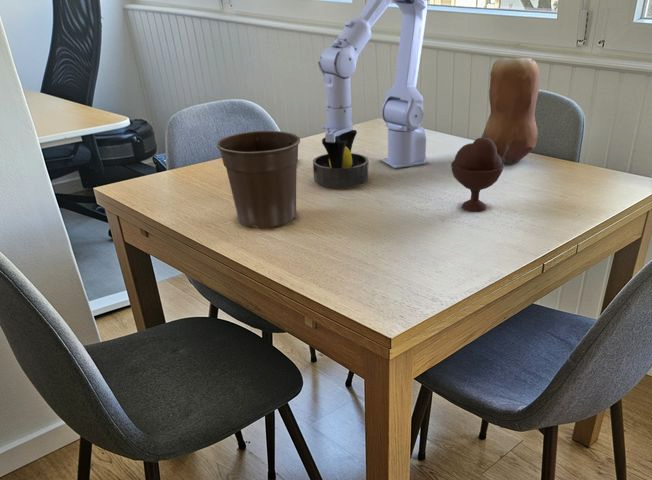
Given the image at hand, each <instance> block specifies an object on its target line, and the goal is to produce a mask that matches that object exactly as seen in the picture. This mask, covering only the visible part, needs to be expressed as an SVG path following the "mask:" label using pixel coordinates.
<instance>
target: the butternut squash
mask: <svg viewBox="0 0 652 480" xmlns="http://www.w3.org/2000/svg"><path fill="white" fill-rule="evenodd" d="M489 76H490V77H489V78H490V79H489V91H488V99H489V105H490V106H489V107H490V113H489V114H490V115H489V117H488V119H487V121H486V124H485V126H484V130H483V138H488V139H491V140H492V141H493V142H494V144H495V145H496V148H497V154H498V155H499V156H500V157H501V160H502V162H503V163H506V164H507V163H508V164H515V163H518V162H520V161H522V160H523V159H524V158H525V157H526V156H527V155H529V154H530V153H531V152H532V151H534V149H535V147H536V145H537V142H538V126H537V122H536V117H535V116H536V115H535V112H536V107H537V101H538V96H539V89H540V82H539V81H540V73H539V66H538V64H537V62H536V61H535V60H534V59H532V58H530V57H515V58H509V57H502V58H498V59H496V60H495V61H494V62H493V63H492V66H491V70H490V73H489Z"/></svg>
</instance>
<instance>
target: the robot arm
mask: <svg viewBox="0 0 652 480" xmlns="http://www.w3.org/2000/svg"><path fill="white" fill-rule="evenodd" d="M392 3H394V4H395V5H397V6H398V8H399V10H400V11H401V12H402V20H401V29H400V35H399V44H398V51H397V52H398V53H397V60H396V68H395V76H394V82H393V85H392V86H391V87H390V88H389V89H388V90H387V91H386V93H385V99H384V102H383V104H382V106H381V111H380V112H381V118H382V120H383V122H384V123H385V127H387V157H384V158H381V161H382V162H384V164H387V165H388V166H390V167H392V168H393V169H401V168H406V167H412V166H413V167H414V166H418V165H419V166H420V165H425V164H427V160H426V155H427V154H426V153H427V152H426V151H427V133H426V131H425V129H424V127H423V126H422V125H421V124H422V122H423V119H424V117H425V115H424V113H425V112H424V96H422V94H421V93H420V92H419V90H418V88H417V85H418V78H419V70H420V64H421V63H420V62H421V57H422V48H423V43H424V35H425V29H426V28H425V27H426V21H427V20H426V19H427V12H428V0H367V2H366V4H365V6H364V7H363V8H362V10H361V12H360V14H359V16H358V17H353V18H350V19H347V20H346V22H345V23H344V28H343V29H342V30H341V32H340V34H339V35H338V36H337V38H335V39H334V41H333V44H332V45H331V46H328V47H326V48H325V49H323V51H322V52H321V54H320V57H319V61H317V64H318V68H319V70H320V72H321V73H322V77H323V78H322V81H324V88H325V109H326V111H325V113H326V123H324V124H322V126H321V128H322V130H326V132H325V135H324V136H325V137H323V138H322V139H321V144H322V145H323V147H324V149H325V152H326V154H328V156H329V159H330V163H331V166H332V168H342V163H343V153H344V149H345V146H346V147H347V148H348V149H349V150H350V152H351V153H352V148H353V144H354V141H355V139H356V135H357V134H358V131H357V130H356V129H353V128H354V126H353V125H354V124H353V121H354V120H353V118H352V116H353V115H352V83H351V81H352V79H351V76H352V75H353V74H354V73H355V72H356V69H357V61H358V59H359V55H360V54H361V53H362V51H363V50H364V48H365V46H366V45H367V44H368V42H369V41H370V40H371V38H372V29H371V28H372V27H373V26H374V25H375V24H376V22H377V21H378V20H379V19H380V18H381V16H382V15H383V14H384V12H385V11H386V10H387V9H388V8H389V6H390V5H391V4H392Z"/></svg>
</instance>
